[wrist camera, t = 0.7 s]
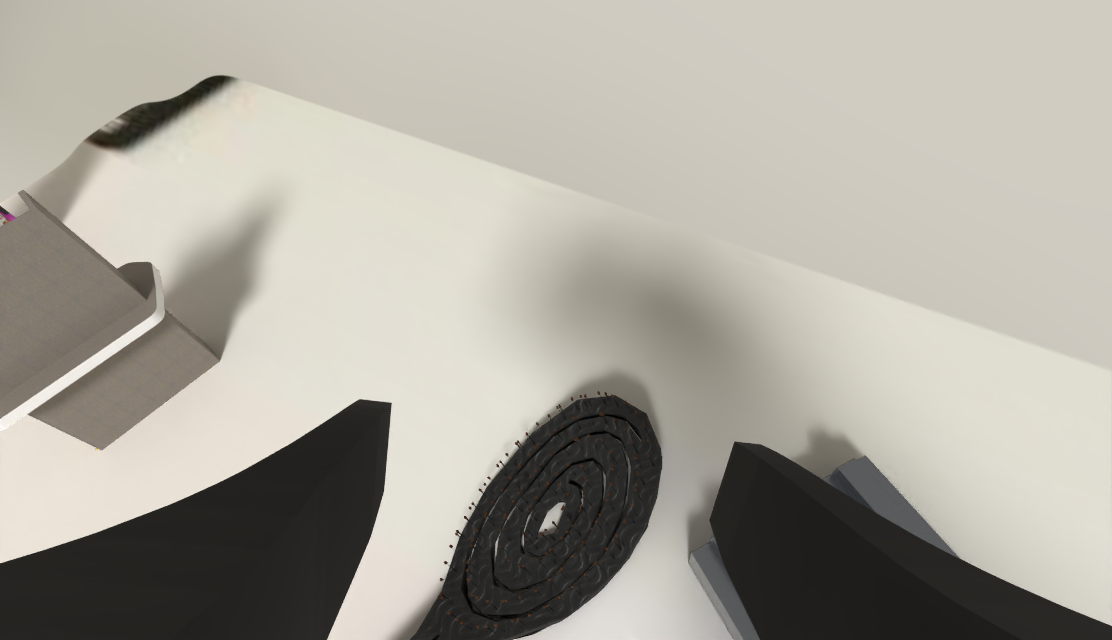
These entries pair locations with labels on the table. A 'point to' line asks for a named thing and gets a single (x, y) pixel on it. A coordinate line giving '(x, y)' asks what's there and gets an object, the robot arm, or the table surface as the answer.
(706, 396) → the table surface
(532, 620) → the hairbrush
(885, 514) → the slotted bar
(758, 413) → the table surface
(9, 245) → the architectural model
